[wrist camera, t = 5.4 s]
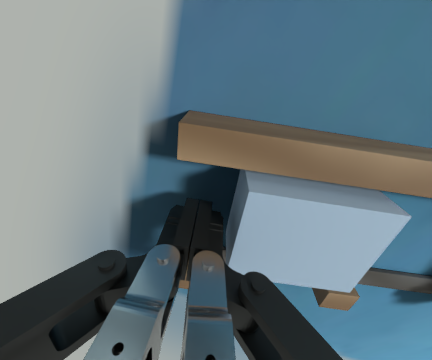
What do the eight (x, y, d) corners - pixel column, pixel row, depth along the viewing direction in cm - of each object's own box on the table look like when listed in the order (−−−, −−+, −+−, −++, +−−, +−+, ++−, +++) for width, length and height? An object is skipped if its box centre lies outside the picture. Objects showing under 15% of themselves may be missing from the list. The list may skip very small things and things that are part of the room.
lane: (189, 110, 10) (169, 133, 7) (629, 179, 11) (825, 234, 7) (178, 255, 15) (164, 310, 12) (472, 296, 16) (540, 360, 12)
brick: (242, 154, 12) (249, 191, 8) (357, 173, 12) (411, 216, 8) (225, 225, 14) (225, 275, 11) (320, 239, 15) (349, 292, 11)
